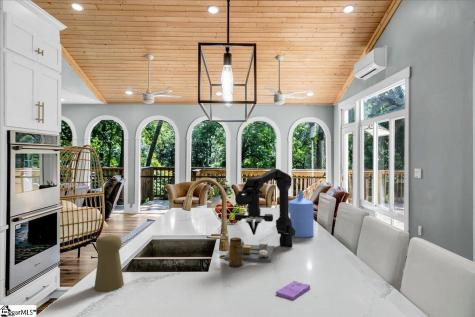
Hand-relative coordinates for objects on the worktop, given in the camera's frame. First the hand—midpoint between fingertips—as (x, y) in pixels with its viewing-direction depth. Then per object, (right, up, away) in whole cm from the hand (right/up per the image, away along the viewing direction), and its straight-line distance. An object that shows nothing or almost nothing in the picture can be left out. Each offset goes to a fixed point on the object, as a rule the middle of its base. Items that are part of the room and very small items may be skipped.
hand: (254, 234), depth 154 cm
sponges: (+12, -11, -42) cm, 45 cm away
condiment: (-9, -11, -13) cm, 19 cm away
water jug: (+32, -11, +43) cm, 55 cm away
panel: (-1, -11, +4) cm, 12 cm away
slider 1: (-4, -9, +1) cm, 10 cm away
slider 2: (+5, -9, +6) cm, 12 cm away
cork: (-57, -11, -35) cm, 68 cm away
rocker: (-8, -8, +13) cm, 17 cm away
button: (+4, -8, -6) cm, 11 cm away
